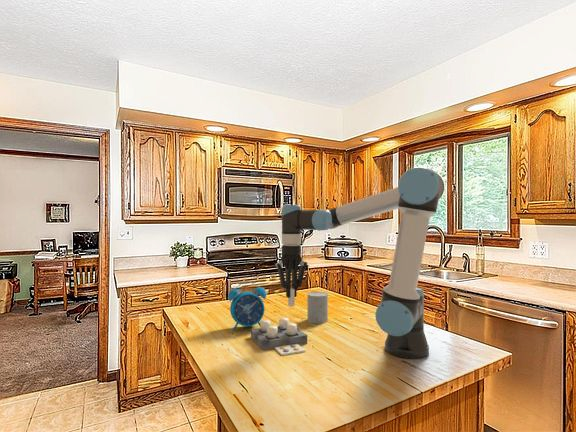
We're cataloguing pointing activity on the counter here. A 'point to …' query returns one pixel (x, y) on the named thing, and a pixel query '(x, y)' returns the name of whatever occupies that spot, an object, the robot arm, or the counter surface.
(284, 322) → the button
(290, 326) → the button
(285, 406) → the counter surface
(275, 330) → the button
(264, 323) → the button
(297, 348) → the card
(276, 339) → the button board
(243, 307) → the alarm clock
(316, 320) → the speckled white tin can
